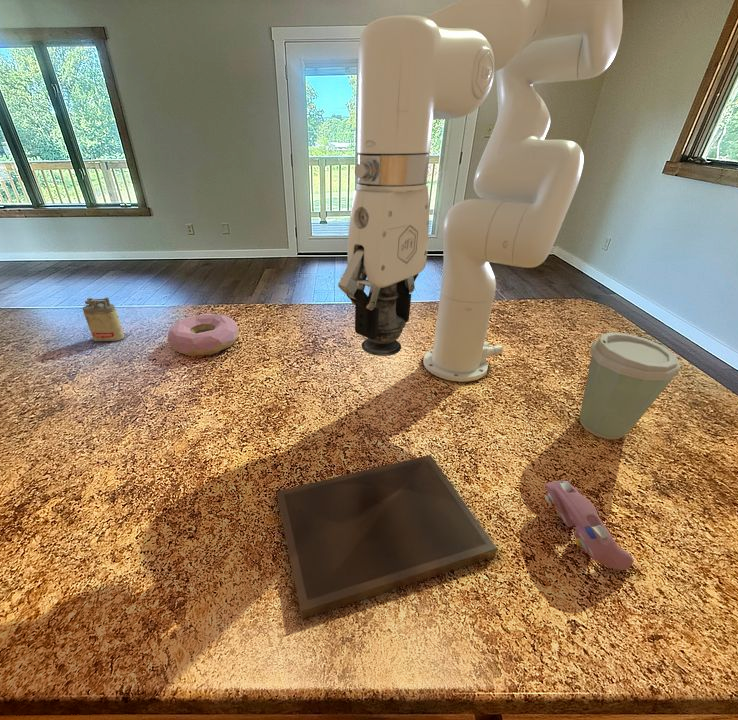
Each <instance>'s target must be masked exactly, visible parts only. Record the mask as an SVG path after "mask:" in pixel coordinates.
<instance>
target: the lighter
mask: <svg viewBox="0 0 738 720" xmlns="http://www.w3.org/2000/svg"><path fill="white" fill-rule="evenodd" d="M84 304H85V306H84V305H83V307H82V311H83V316H84V318H85V320H86V324H87V327H88V329H89V331H90V334H91V336H92V340H93V341H94V342H117V341H120V340H123V339H125V337H126V335H125V333H124V330H123V326H122V324H121V321H120V318H119V314H118V311H117V309H116V307H115V305H114V304H112V303H110V298H109V297H104V298H93V297H90V298H86V300H85V301H84Z"/></svg>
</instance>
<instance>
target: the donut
mask: <svg viewBox="0 0 738 720" xmlns="http://www.w3.org/2000/svg"><path fill="white" fill-rule="evenodd" d="M238 338H239V327H238V325H237V323H236V321H235V320H234V319H233V318H231V317H229V315H223V314H215V313H208V312H207V313H203V314H202V313H201V314H196V315H192V316H188V317H185V318H182V319H181V320H179V321H178V322H176V323H175V324H173V325H172V327H171V328H170V329H169V330H168V331H167V342H168V343H169V346H170V347H171V348H172V350H174V351H175V352H177V353H179V354H182V355H186V356H190V357H196V356H197V357H199V356H213V355H215V354H217V353H219V352H221V351H224V350H226V349H227V348H230V347H231V346H232V345H233V344H234V343H235V342H236V341H237V340H238Z"/></svg>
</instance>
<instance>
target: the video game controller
mask: <svg viewBox="0 0 738 720" xmlns="http://www.w3.org/2000/svg"><path fill="white" fill-rule="evenodd" d="M544 487H545V490H546V492H547V494H544V499H545V501H546V503H547V504H548V505H550V506H552V504H553V505H554V506H555V508H556V510H557V512H558V514H559V516H560V518H561V520H562V522H563V523H564V524H565V526H566V527H567V528H572V527H574V531H573V536H574V537H575V539H574V542H575V544H576V546H578V547H580V548H581V549H582V551H584V553H585V554H586V553H587V554H588V555H589V556H590V557H591V558H592V559H593V561H597V562H599V564H601V565H603V566H604V567H607V568H610V569H613V570H615V571H625V570H627V569H629V568H630V567H631V566H632V565H633V563H634V558H633V556H632V555H631V554H630V553H629V552H628V551H627V550H625V549H623V548H622V547H621V546H619V545H618V543H617V542H616V541H615V539H614V538H613V536H612V534H611V532H610V531H609V529H608V528H607V527H606V525H605V524H604V522H603V520H601V517H600V516H599V513H598V511H597V509H596V507H595V505H594V504H593V502H591V501H590V499H588V498H587V497H585V496H584V495H583V493H582V492H581V490H579V489H578V488H576V487H575V486H574V485H573V484H571V483H570V482H569V481H567V480H554V481H550V482H547V483H545V484H544Z"/></svg>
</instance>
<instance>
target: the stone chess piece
mask: <svg viewBox="0 0 738 720" xmlns="http://www.w3.org/2000/svg"><path fill="white" fill-rule="evenodd" d="M396 289H397V283H395V284H392V285H390V286H387V287H383V288H380V291H379V295H378V298H377V302H376V306H375V308H378V309H379V317H378V335H377V338H376V339H374V340H372V339H369V338H366V339H365V340H363V341H362V343H361V348H362V350H363V351H364V352H365V353H367V354H369V355H372V356H376V357H390V356H393V355H396V354H398V353H399V352H400V351H401V350H402V344H401V343H400V342H399V341H398V339H399V338H400V337H401V335H402V333H403V330H404V328H405V327H406V325H407V322H406V323H405V321H404V319H403V318H401V317H399V316H397V315H396V298H397V297H399V293H398V292H397V291H396Z"/></svg>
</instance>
